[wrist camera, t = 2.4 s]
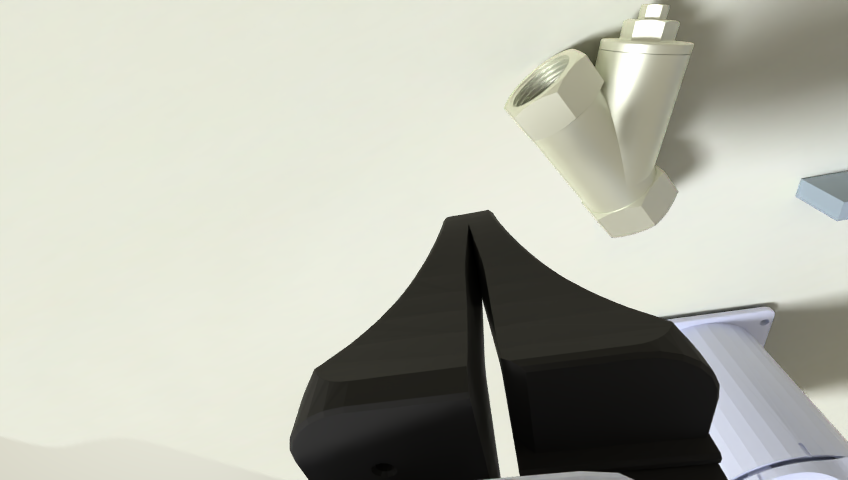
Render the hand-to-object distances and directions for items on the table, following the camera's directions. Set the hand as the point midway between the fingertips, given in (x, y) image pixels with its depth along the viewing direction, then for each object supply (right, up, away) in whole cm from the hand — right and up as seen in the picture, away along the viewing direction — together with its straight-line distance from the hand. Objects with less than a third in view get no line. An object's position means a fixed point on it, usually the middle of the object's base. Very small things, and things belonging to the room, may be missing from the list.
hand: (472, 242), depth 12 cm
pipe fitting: (+7, +6, +7) cm, 12 cm away
